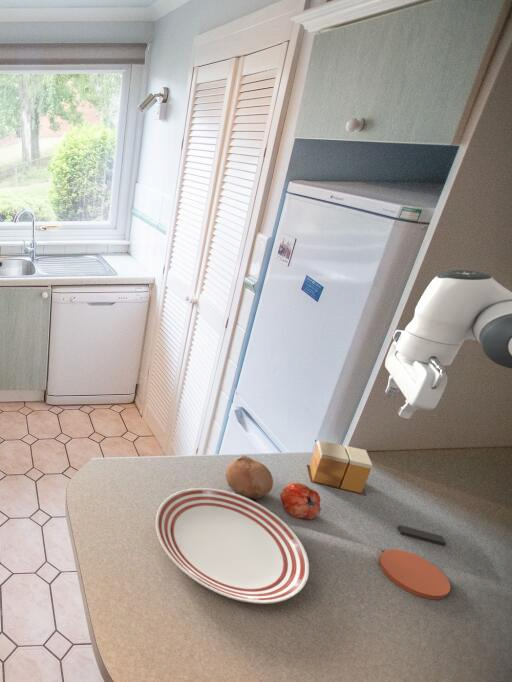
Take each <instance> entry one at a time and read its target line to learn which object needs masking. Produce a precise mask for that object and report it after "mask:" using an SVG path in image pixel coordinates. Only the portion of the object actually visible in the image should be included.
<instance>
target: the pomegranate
mask: <svg viewBox="0 0 512 682" xmlns="http://www.w3.org/2000/svg"><path fill="white" fill-rule="evenodd" d="M279 496H280V497H279V499H280V502H281V503H282V506H283V507H282V508H283V510H284V511H285V512H286V513H287V514H289V515H290V516H292V517H294V518H296V519H304V520H305V519H306V520H313V519H315V518H317V517H318V516H319V515H320V513H321V510H322V509H321V497H320V494H319V492H318V491H316V490H315V489H313V488H311V487H309V486H307V485H306V484H304V483H300V482H291V483H289V484H287V485H285V486H284V487H283V489H282V491H281V492H280V494H279Z"/></svg>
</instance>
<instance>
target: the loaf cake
mask: <svg viewBox="0 0 512 682" xmlns="http://www.w3.org/2000/svg"><path fill="white" fill-rule="evenodd" d="M348 462H349V458H348V456H347V453H346V450H345V445H344V444H339V443H335V442H329V441H325V440H321V439H318V440H317V442H316V444H315V448H314V451H313V454H312V457H311V459H310V463H309V464H306V469H307V473H308V477H309V482H310V483H311V484H316V485H320V486H324V487H328V488H333V489H337V490H341V491H345V492H348V493H352V494H356V495H360V496H365V497H367V496H368V495H367V493H366V489H365V487H364V488H363V490H362V492H361V493H359V492H355V491H351V490H346V489H342V488H340V483H341V481H342V478H343V475H344V473H345V470H346V467H347V465H348Z"/></svg>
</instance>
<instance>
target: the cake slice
mask: <svg viewBox="0 0 512 682" xmlns="http://www.w3.org/2000/svg"><path fill="white" fill-rule="evenodd" d="M344 447H345V450H346V453H347V456H348V458H349V462H348V465H347V467H346V470H345V473H344V475H343V478H342V481H341V483H340V488H342V489H346V490H351V491H355V492H359V493H361V492H362V490H363V488H364V489H365V485H366V482H367V480H368V478H369V475H370V473H371V470H372V468H373V463H372V461H371V458H370V456H369V454H368V451H367V449H364V448H358V447H353V446H348V445H344Z"/></svg>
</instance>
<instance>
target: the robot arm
mask: <svg viewBox="0 0 512 682" xmlns="http://www.w3.org/2000/svg"><path fill="white" fill-rule="evenodd" d="M392 339H393V341H392V343H391V345H390V347H389V349H388V352H387V354H386V358H385V361H384V362H385V363H384V368H385V369H386V370H387V371H388V372H387V373H389V376H388V382H387V386H386V389H385V390H384V392H385V394H386V396H388V397H392V398H396V397H397V396H398V394H399V392H400V391H401V394H403V396H404V398H405V401H404V402H405V404H404V405H403V406H400V407H399V408H398V410H397V414H398V416H399V417H400V418H402V419H407V420H409V419H411V417H412V416H413V414H414V413H416V411H418V410H419V409H421V410H426V411H432V410H434V409H435V408H437V406H438V404H439V402H440V400H441V398H442V396H443V394H444V391H445V390H446V387H447V383H448V375H447V373H446V372H445V370H446V367H445V366H451V364H452V363H453V361H454V359H455V358H456V356H457V354H458V352H459V351H460V349H461V347H462V345H463V343H464V342H465V341H467V340H473V341H478V344H480V347H481V349H482V350H483V353H484V354H485V356H486V357H487V358H488V359H489V360H490V361H492V362H493V363H494V364H497V365H499V366H501V367H504V368H506V369H507V368H508V369H512V291H511V290H509V289H508V288H506V287H504V286H503V285H502V284H500V283H499V282H498V281H496V279H494V277H493V276H492V275H490V274H488V273H486V272H481V271H475V270H468V269H463V270H462V269H456V270H449V271H443V272H442V273H441V272H440V273H439V274H437V275H436V276H435V277H434V278H433V279H432V280H431V281H430V283H429V284H428V285H427V287H426V288H425V290H424V291H423V293H422V295H421V297H420V299H419V300H418V302H417V304H416V306H415V309H414V314H413V318H412V319H411V321H410V322H409V323H408V324H407V325H406V326H405V328H404V330H402V329H396V330H395V331H394V333H393V335H392Z"/></svg>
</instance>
